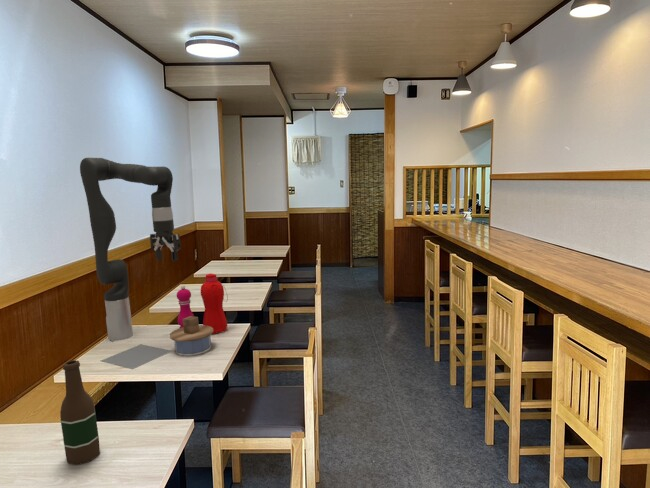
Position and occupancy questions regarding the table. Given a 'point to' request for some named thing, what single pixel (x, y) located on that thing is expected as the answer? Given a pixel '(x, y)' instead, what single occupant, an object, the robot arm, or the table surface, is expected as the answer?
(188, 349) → the bowl
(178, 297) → the pepper mill
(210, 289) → the water bottle
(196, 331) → the lid
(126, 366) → the mat
